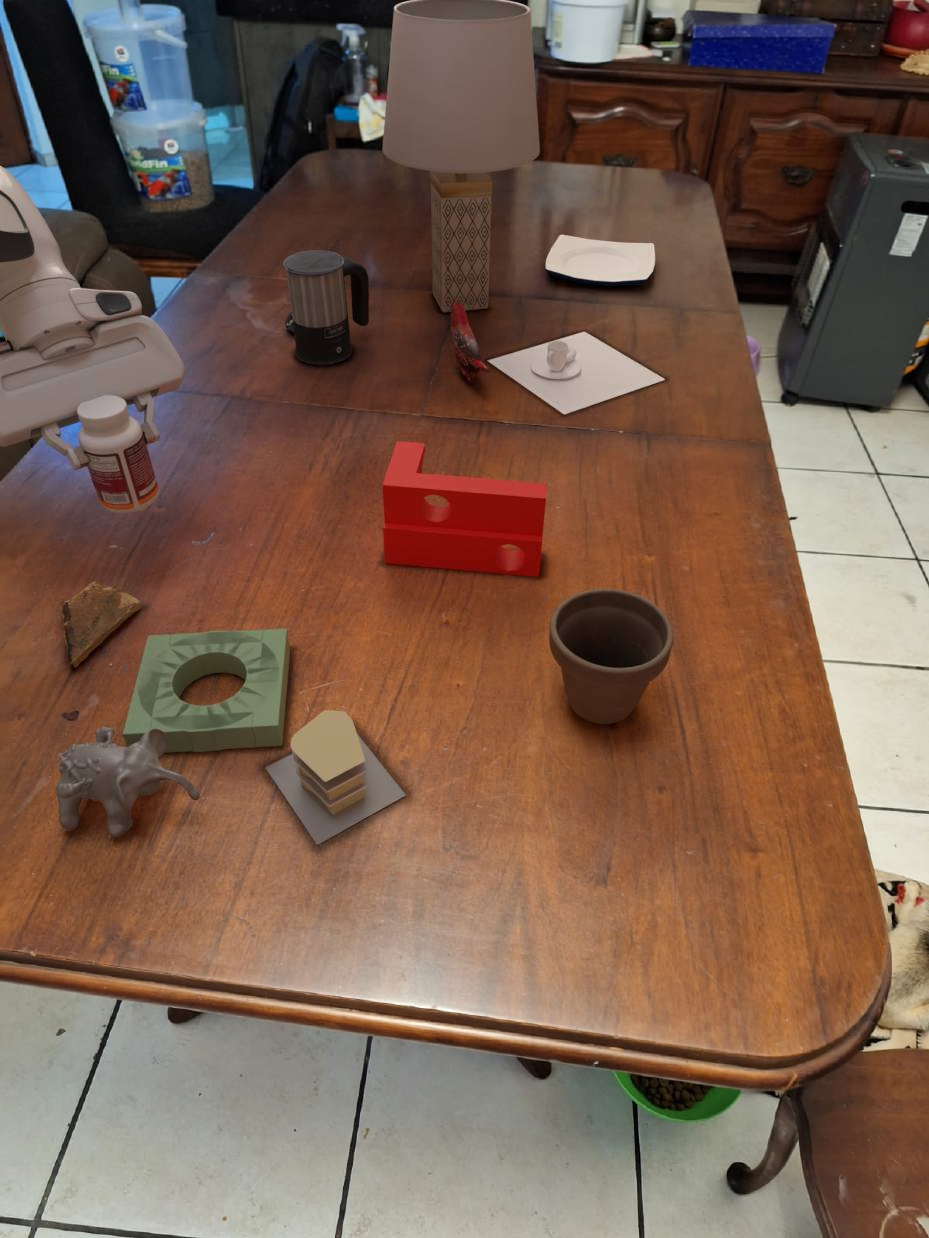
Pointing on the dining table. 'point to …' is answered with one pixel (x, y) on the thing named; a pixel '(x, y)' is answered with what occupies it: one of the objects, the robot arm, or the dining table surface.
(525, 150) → the lamp
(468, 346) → the decorative bird figurine
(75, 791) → the gray elephant figurine
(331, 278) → the milk frother
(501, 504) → the bracket
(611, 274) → the plate
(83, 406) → the pill bottle
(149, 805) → the dining table surface
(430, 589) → the dining table surface
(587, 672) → the flower pot
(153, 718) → the socket pad
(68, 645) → the shard
